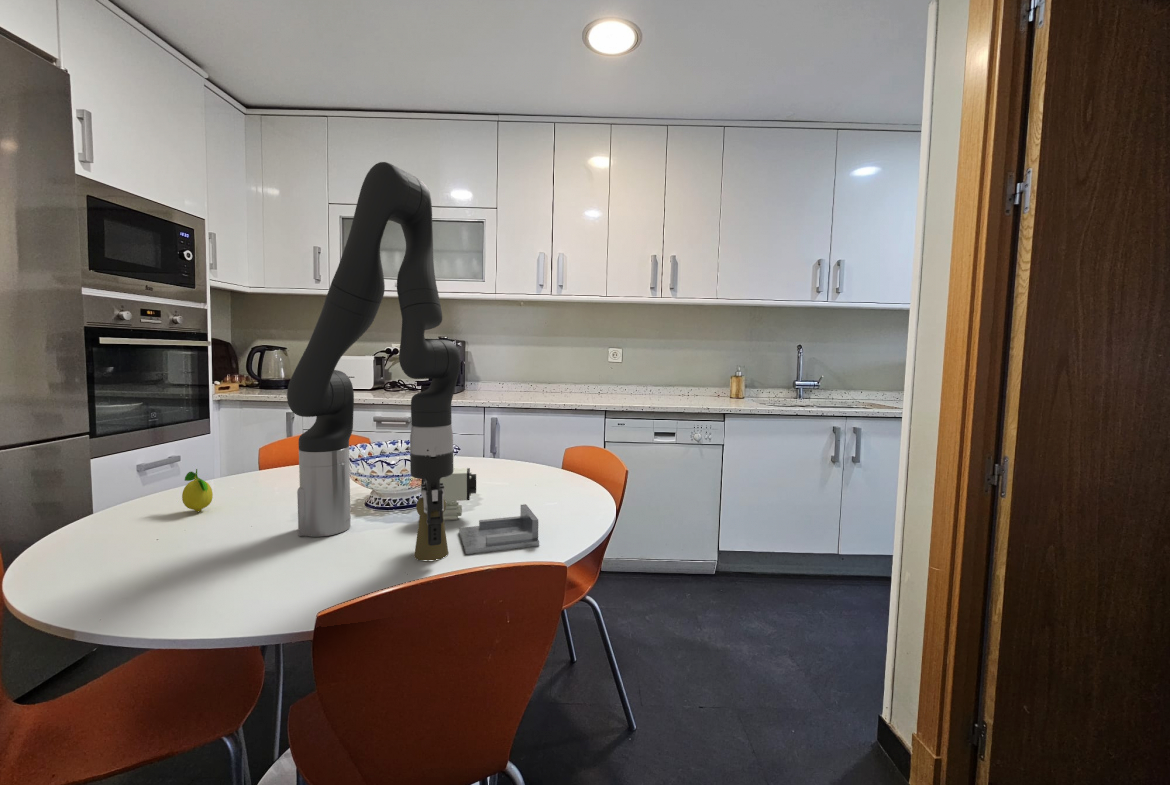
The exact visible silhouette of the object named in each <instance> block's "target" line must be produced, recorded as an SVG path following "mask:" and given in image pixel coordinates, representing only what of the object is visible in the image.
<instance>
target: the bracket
mask: <svg viewBox="0 0 1170 785" xmlns="http://www.w3.org/2000/svg"><path fill="white" fill-rule="evenodd" d="M519 514H520V515H519V516H508V517H498V518H497V517H496V518H487V519H479V520H478V525H475V526H466V527H465V526H464V527H458V534H459V537H460V540H461V543H463V544H462V546H464V547H463V549H465V550H464V553H465V552H466V553H465V555H466V554H468V555H474V554H473V553H477V554H482V553H481V552H485V553H490V552H489V551H493V552H499V551H498V550H502V551H507V550H506V549H510V550H516V549H515V548H518V549H524V548H523V547H527V548H531V547H530V546H535V547H540V540H539V518H538V517H537V516H536V515H535V513H534V512H533V511H532V509H530V507H529V506H528V505H527V504H524V503H523V504H520V513H519Z"/></svg>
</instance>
